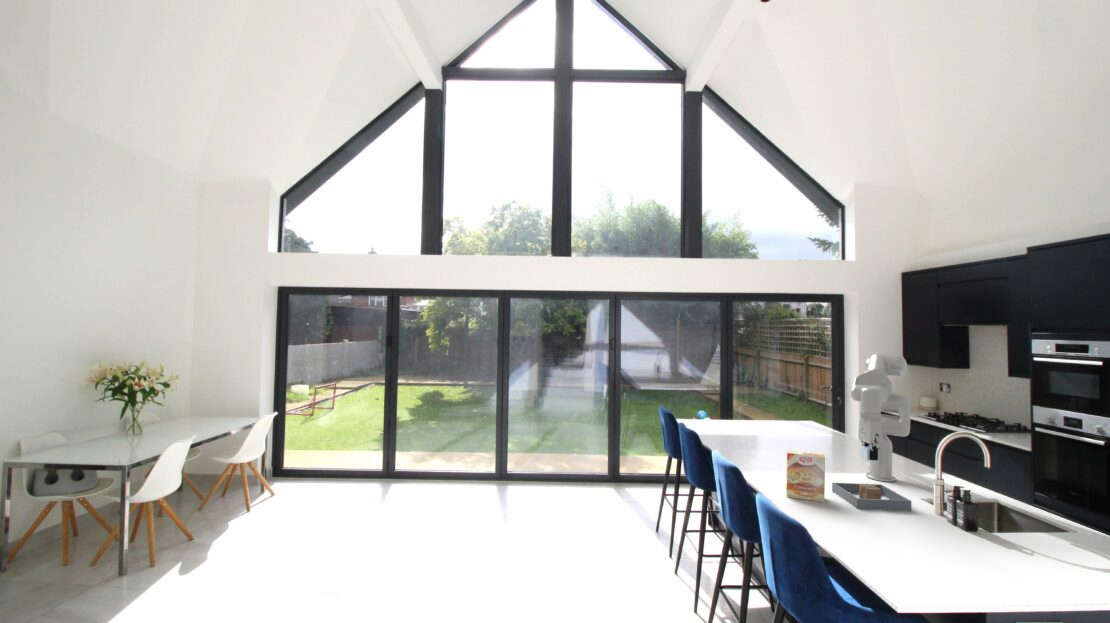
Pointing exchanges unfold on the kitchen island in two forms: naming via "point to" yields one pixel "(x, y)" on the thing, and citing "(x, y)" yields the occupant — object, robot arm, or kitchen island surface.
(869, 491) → the walnut block
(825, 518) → the kitchen island surface
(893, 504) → the grey square tray
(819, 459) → the coffeecake box
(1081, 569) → the kitchen island surface
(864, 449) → the pale blue box
